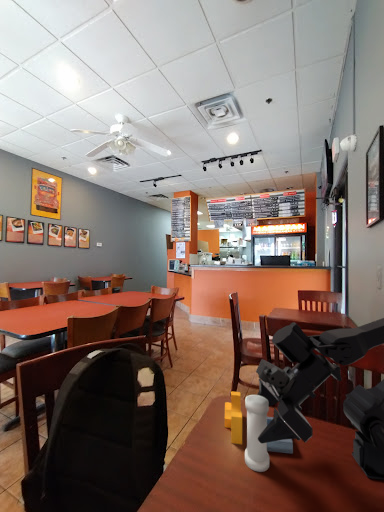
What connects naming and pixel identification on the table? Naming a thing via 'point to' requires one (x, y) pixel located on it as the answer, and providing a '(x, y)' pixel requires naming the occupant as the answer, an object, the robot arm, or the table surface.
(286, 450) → the blue-grey square tray
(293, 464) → the table surface
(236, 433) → the pipe clamp
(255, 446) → the white domed pillar
